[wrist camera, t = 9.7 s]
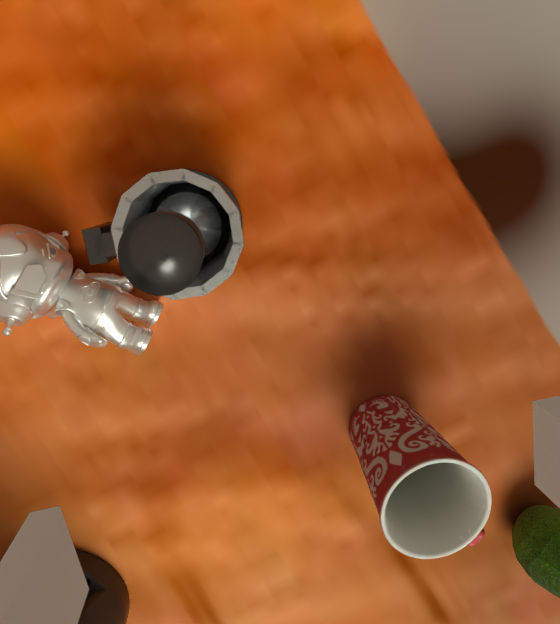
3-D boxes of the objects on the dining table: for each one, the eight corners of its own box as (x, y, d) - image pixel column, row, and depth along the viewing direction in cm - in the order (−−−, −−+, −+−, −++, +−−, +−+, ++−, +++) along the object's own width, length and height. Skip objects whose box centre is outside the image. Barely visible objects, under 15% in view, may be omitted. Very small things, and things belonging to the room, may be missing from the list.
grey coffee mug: (128, 284, 42) (97, 316, 32) (105, 180, 39) (64, 177, 29) (248, 267, 43) (255, 292, 33) (233, 163, 40) (236, 156, 30)
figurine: (141, 375, 36) (-73, 283, 30) (112, 393, 41) (-74, 319, 35) (183, 269, 41) (10, 172, 35) (152, 298, 47) (-2, 219, 41)
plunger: (161, 263, 40) (114, 319, 23) (148, 196, 38) (87, 204, 21) (226, 254, 40) (226, 302, 23) (216, 187, 38) (208, 188, 22)
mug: (321, 426, 48) (357, 515, 35) (387, 368, 47) (448, 437, 34) (395, 497, 51) (452, 602, 38) (458, 444, 50) (538, 534, 37)
